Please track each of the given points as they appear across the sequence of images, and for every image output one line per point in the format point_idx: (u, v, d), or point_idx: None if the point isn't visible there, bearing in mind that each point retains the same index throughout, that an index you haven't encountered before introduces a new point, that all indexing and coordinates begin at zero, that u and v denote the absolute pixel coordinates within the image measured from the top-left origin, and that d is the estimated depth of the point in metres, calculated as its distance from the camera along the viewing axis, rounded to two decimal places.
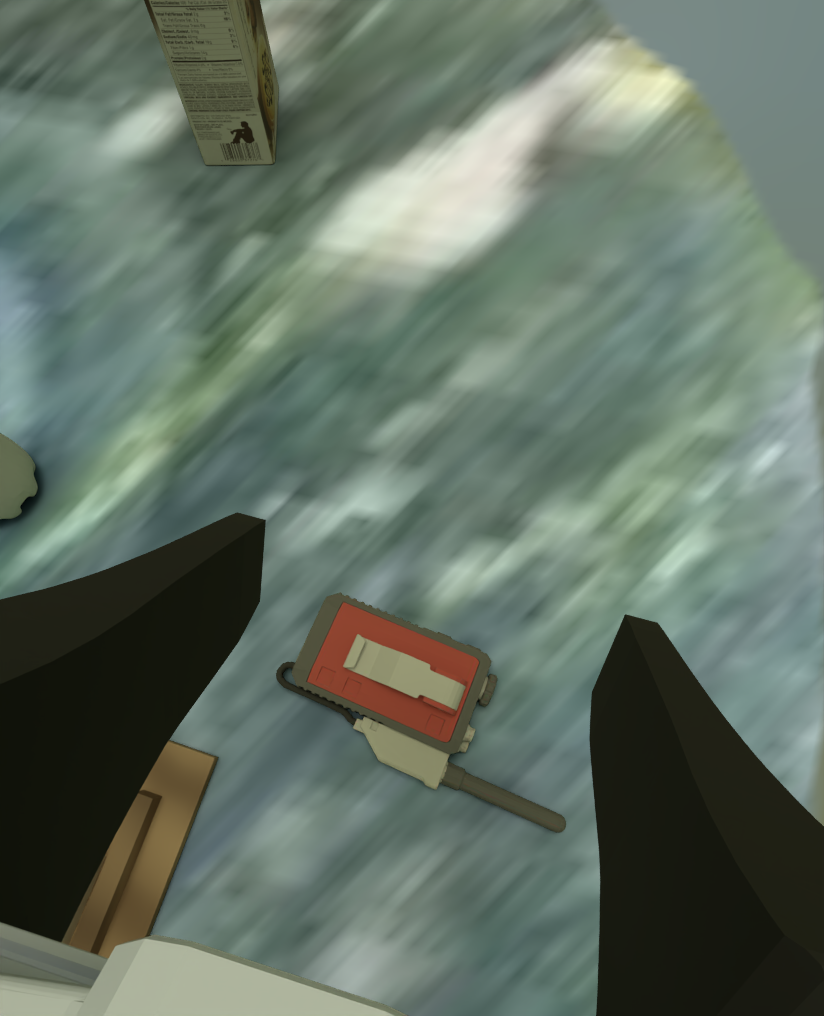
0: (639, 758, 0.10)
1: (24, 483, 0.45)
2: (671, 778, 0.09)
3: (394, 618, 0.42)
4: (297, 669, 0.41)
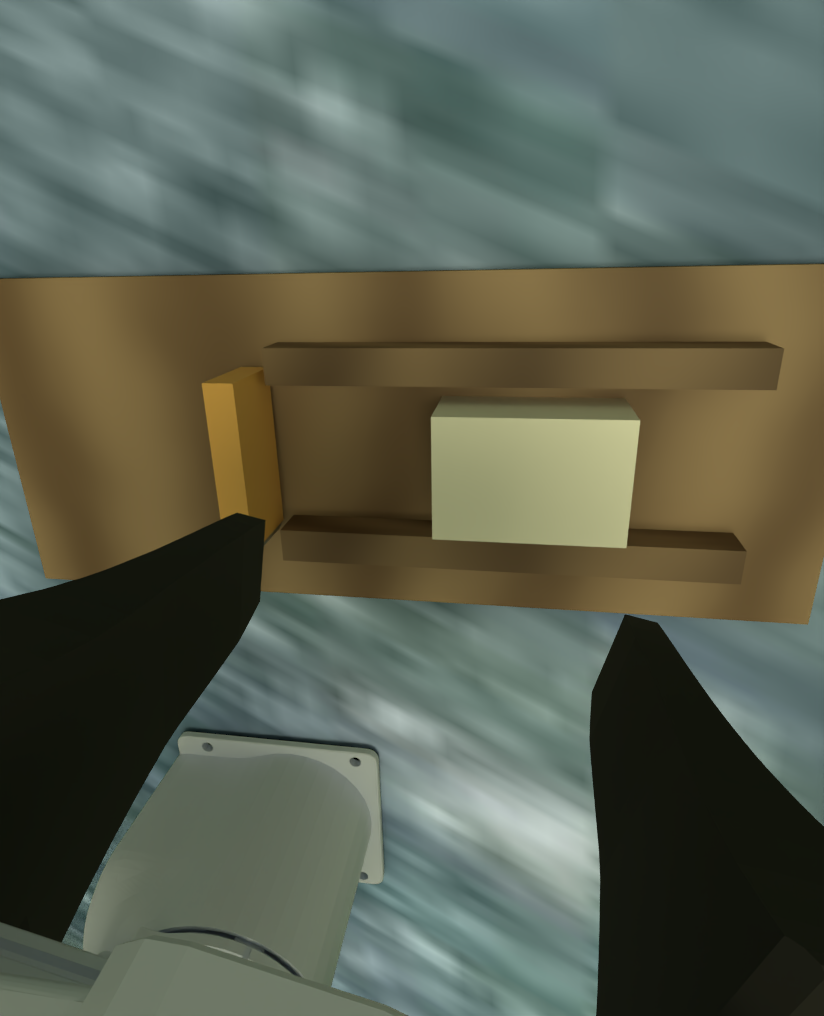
0: (639, 758, 0.10)
1: None
2: (671, 778, 0.09)
3: None
4: None
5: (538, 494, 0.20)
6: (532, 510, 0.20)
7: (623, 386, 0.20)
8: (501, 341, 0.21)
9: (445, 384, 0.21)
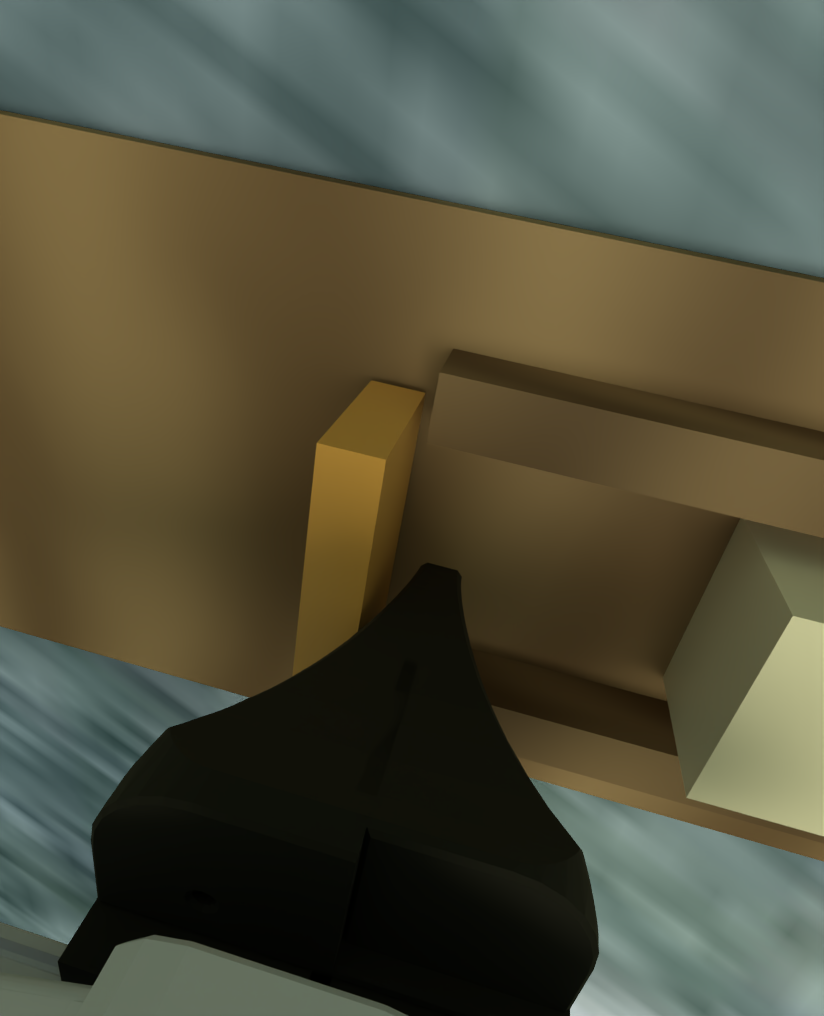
0: None
1: None
2: None
3: None
4: None
5: None
6: None
7: None
8: None
9: (800, 527, 0.10)
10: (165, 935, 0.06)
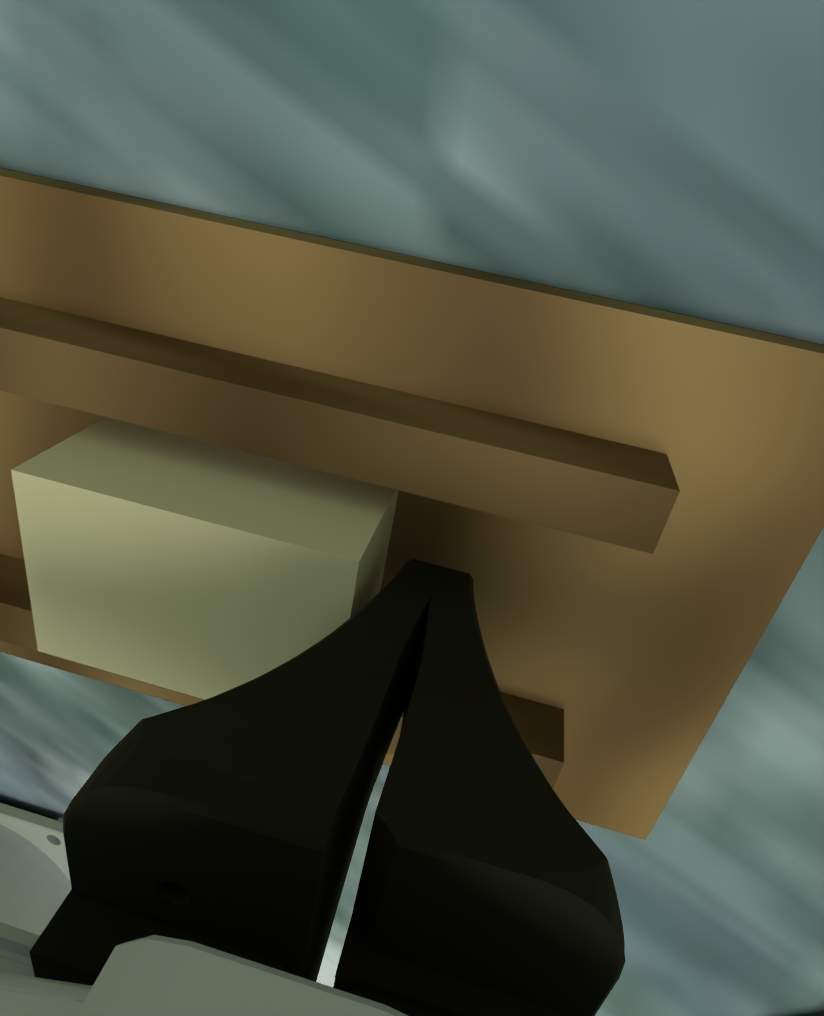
0: None
1: None
2: None
3: None
4: None
5: (194, 630, 0.12)
6: (187, 651, 0.12)
7: (401, 487, 0.11)
8: (235, 352, 0.12)
9: (110, 413, 0.12)
10: (137, 926, 0.06)
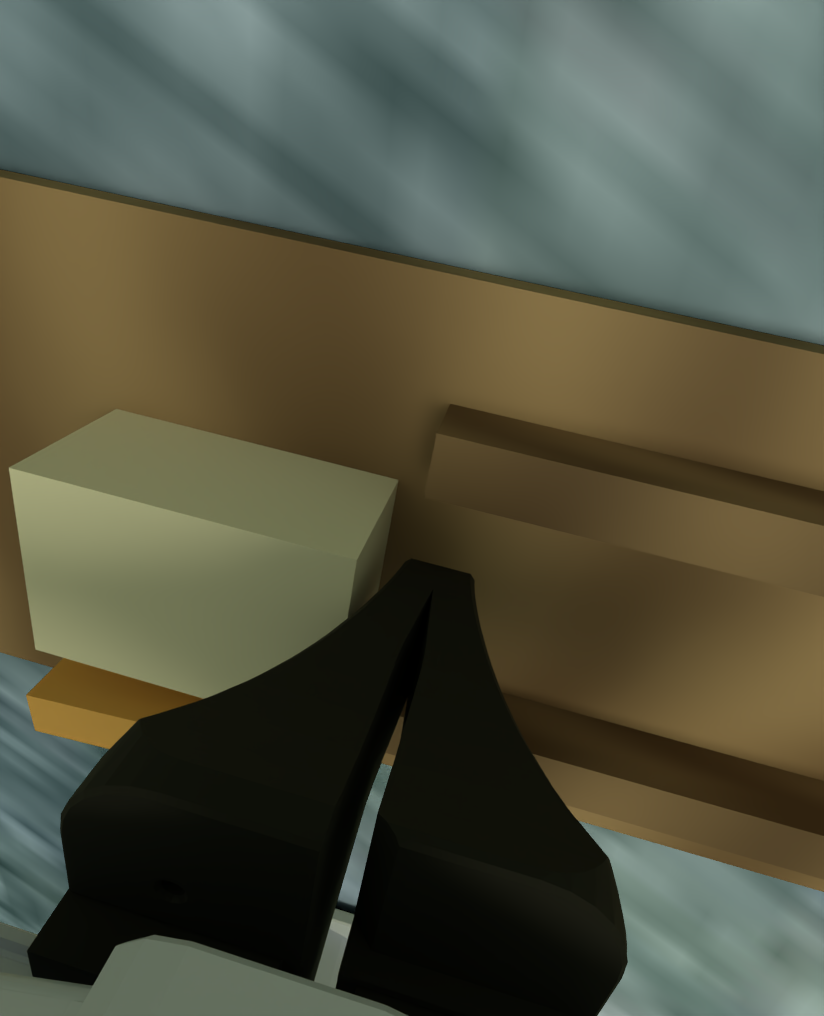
0: (413, 694, 0.10)
1: None
2: None
3: None
4: None
5: (192, 628, 0.12)
6: (184, 649, 0.12)
7: None
8: None
9: (780, 581, 0.11)
10: (135, 924, 0.06)
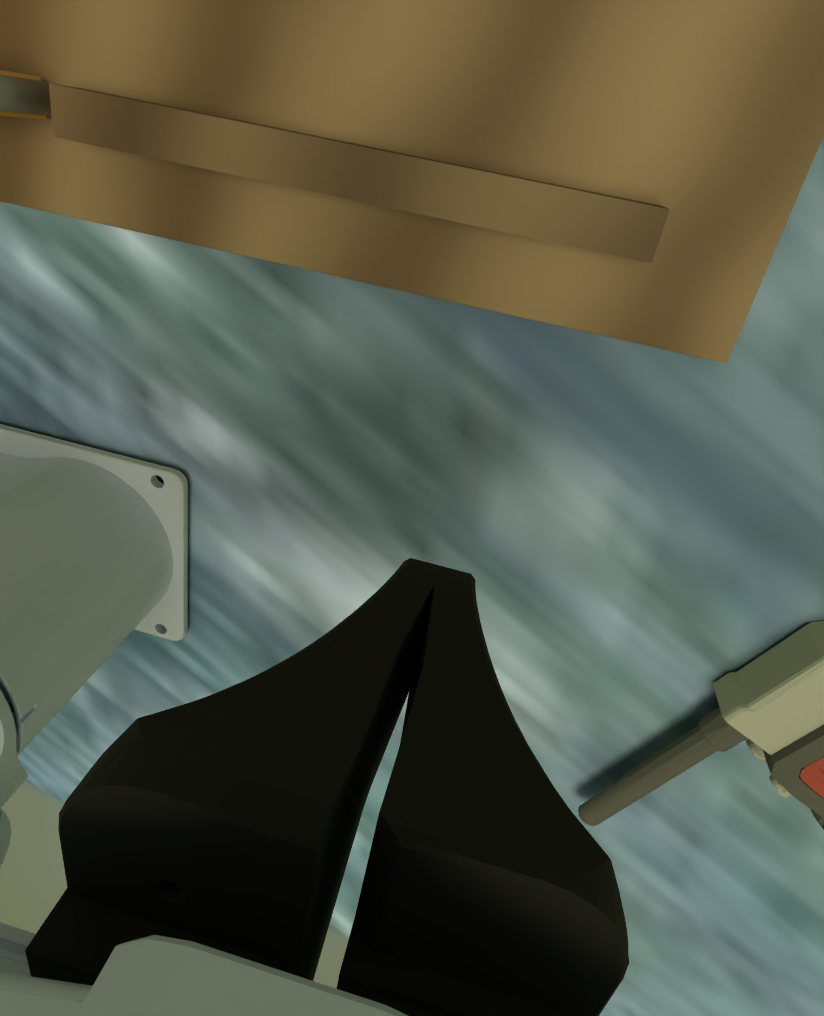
0: (414, 694, 0.10)
1: None
2: None
3: None
4: None
5: None
6: None
7: None
8: None
9: None
10: (133, 924, 0.06)
